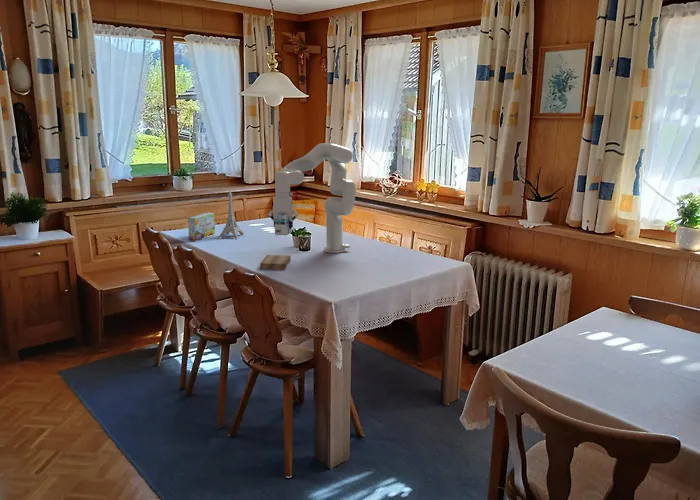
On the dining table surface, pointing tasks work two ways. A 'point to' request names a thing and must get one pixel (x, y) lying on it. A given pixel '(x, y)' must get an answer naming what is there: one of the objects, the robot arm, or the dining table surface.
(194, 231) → the snack box
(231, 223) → the eiffel tower
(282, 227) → the light bulb box
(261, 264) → the podium
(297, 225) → the dining table surface
